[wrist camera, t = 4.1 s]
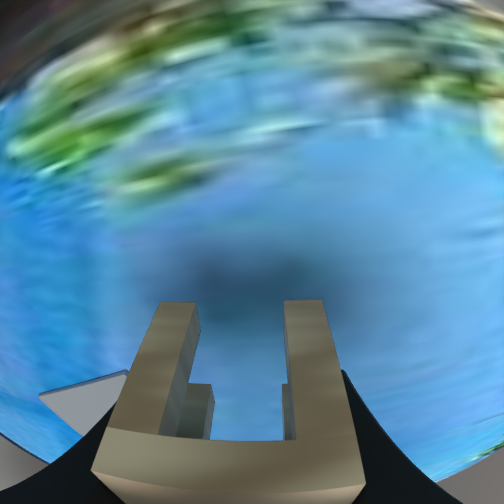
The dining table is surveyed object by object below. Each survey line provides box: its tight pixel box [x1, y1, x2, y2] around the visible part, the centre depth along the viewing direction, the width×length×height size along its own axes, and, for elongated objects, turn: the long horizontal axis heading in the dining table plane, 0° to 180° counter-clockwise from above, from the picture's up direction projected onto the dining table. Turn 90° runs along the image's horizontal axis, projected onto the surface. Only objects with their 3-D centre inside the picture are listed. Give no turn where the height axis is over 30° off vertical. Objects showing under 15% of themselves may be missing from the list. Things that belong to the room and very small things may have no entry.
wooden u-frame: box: [91, 299, 366, 504], centre depth 8 cm, size 5×5×6 cm
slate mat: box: [38, 370, 129, 437], centre depth 21 cm, size 12×12×1 cm
